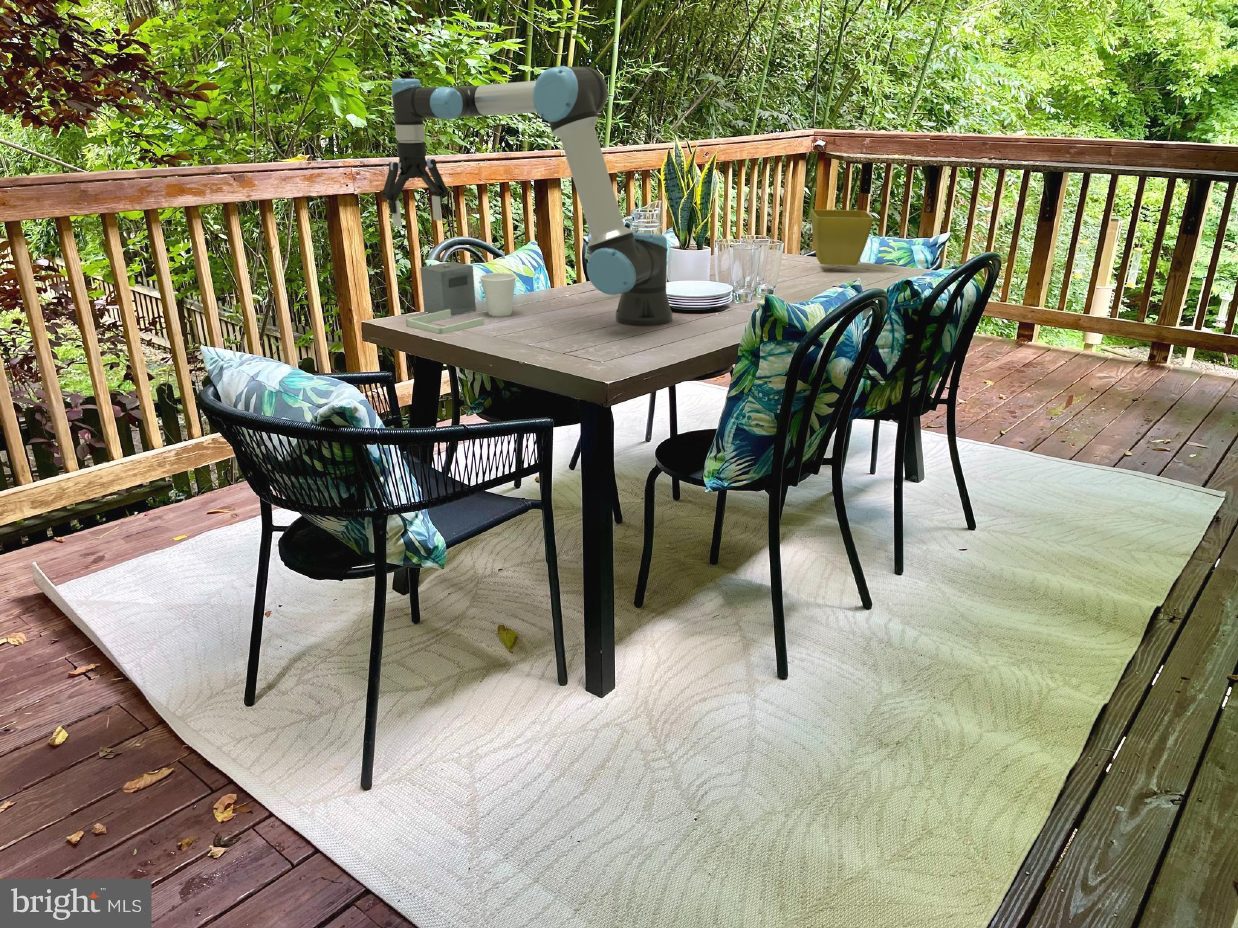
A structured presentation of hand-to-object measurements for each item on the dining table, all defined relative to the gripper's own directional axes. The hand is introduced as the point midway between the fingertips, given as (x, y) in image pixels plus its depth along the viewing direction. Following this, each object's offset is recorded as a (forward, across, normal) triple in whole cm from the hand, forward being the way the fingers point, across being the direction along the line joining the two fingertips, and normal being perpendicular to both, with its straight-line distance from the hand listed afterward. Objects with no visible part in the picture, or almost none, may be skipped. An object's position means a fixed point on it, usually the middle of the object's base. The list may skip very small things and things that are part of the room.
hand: (417, 223), depth 247 cm
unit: (+24, 0, +11) cm, 26 cm away
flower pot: (+23, -136, +57) cm, 149 cm away
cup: (+24, -7, +24) cm, 35 cm away
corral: (+24, +12, +24) cm, 36 cm away
